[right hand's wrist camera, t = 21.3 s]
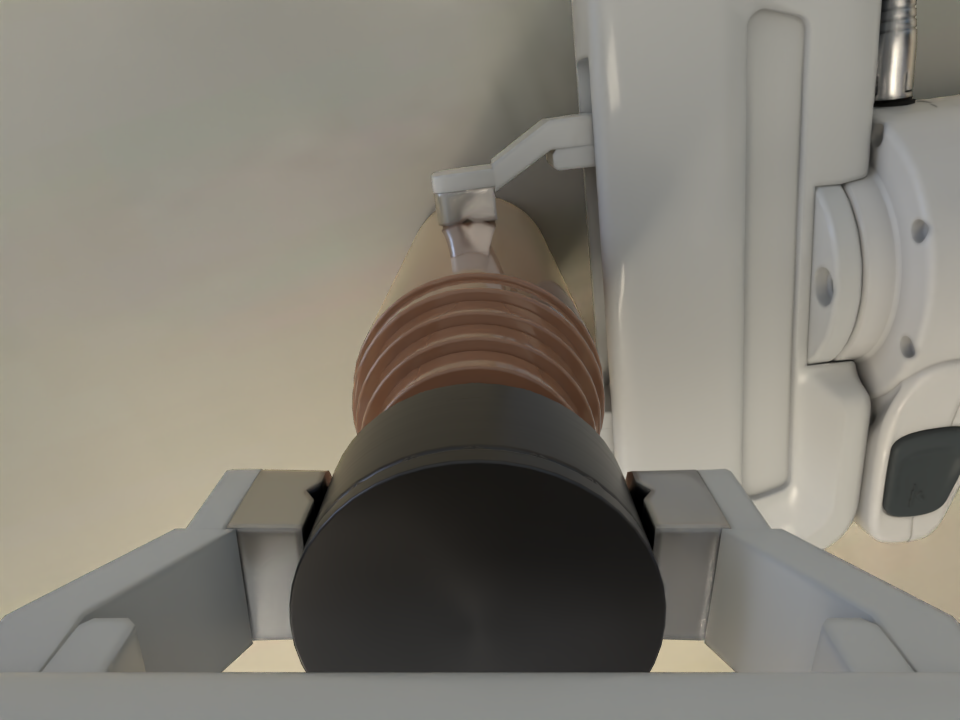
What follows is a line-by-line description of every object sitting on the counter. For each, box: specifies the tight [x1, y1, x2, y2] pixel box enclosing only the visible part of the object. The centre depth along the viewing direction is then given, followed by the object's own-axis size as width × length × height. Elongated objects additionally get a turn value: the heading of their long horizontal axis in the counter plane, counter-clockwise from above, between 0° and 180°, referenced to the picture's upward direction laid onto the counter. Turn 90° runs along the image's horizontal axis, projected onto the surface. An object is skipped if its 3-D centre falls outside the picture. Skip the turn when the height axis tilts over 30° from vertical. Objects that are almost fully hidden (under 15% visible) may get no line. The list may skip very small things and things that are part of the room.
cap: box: [289, 383, 666, 672], centre depth 9 cm, size 4×5×2 cm
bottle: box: [352, 198, 605, 435], centre depth 17 cm, size 5×5×19 cm
